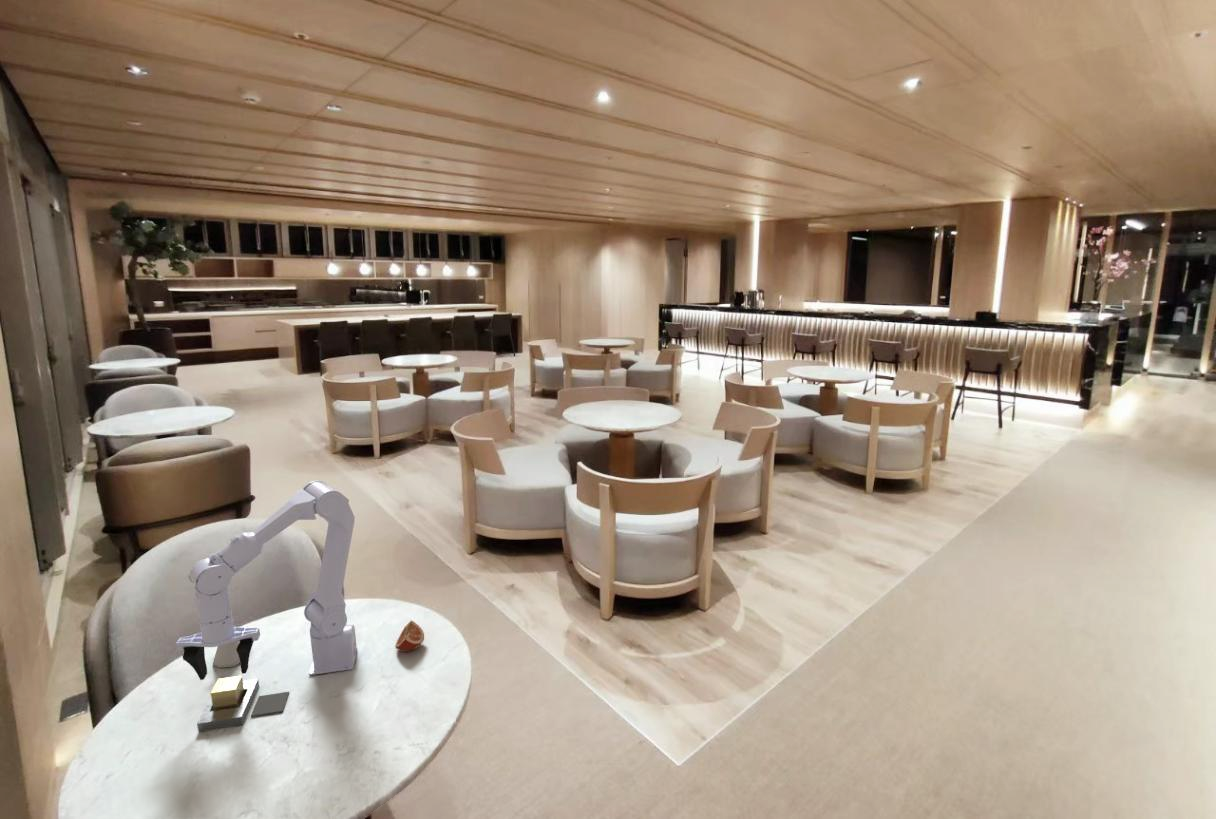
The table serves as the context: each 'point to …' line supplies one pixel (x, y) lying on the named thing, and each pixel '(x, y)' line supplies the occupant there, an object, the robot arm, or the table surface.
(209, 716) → the gray rectangular frame
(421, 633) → the fruit slice
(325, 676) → the table surface
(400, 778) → the table surface
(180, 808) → the table surface
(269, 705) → the flat gray plate
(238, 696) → the block
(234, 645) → the flask
